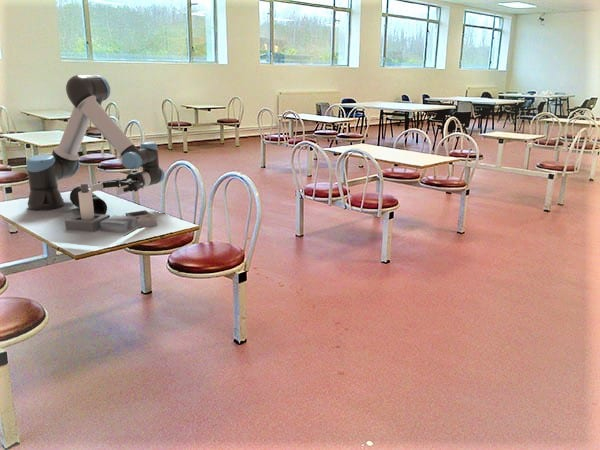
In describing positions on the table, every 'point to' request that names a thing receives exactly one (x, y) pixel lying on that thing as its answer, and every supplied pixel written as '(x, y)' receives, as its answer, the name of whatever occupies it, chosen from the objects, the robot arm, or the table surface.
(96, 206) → the muzzle brake
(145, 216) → the handheld gaming device
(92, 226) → the socket block
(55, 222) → the table surface
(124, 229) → the stand
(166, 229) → the table surface
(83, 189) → the white bottle
